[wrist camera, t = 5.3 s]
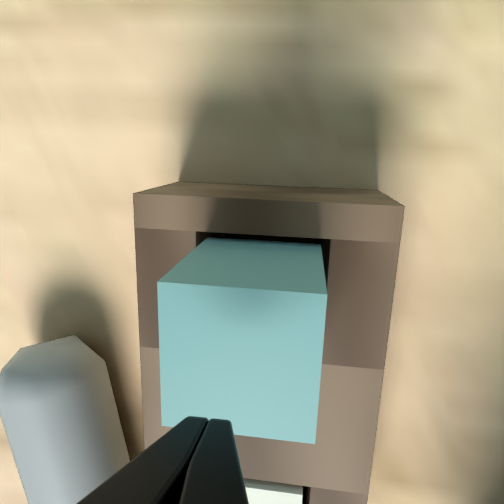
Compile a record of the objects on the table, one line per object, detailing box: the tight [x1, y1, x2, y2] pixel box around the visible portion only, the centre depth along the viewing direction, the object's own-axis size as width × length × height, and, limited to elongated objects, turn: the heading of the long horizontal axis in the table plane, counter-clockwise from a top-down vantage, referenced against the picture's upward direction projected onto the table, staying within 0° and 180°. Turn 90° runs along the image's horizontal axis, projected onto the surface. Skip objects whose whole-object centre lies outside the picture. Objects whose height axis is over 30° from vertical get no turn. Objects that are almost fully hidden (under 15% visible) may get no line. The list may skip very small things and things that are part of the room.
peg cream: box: [243, 478, 303, 504], centre depth 19 cm, size 4×4×5 cm
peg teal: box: [157, 237, 327, 444], centre depth 12 cm, size 4×4×5 cm
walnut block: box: [133, 182, 405, 504], centre depth 18 cm, size 9×17×5 cm, turn 178°
